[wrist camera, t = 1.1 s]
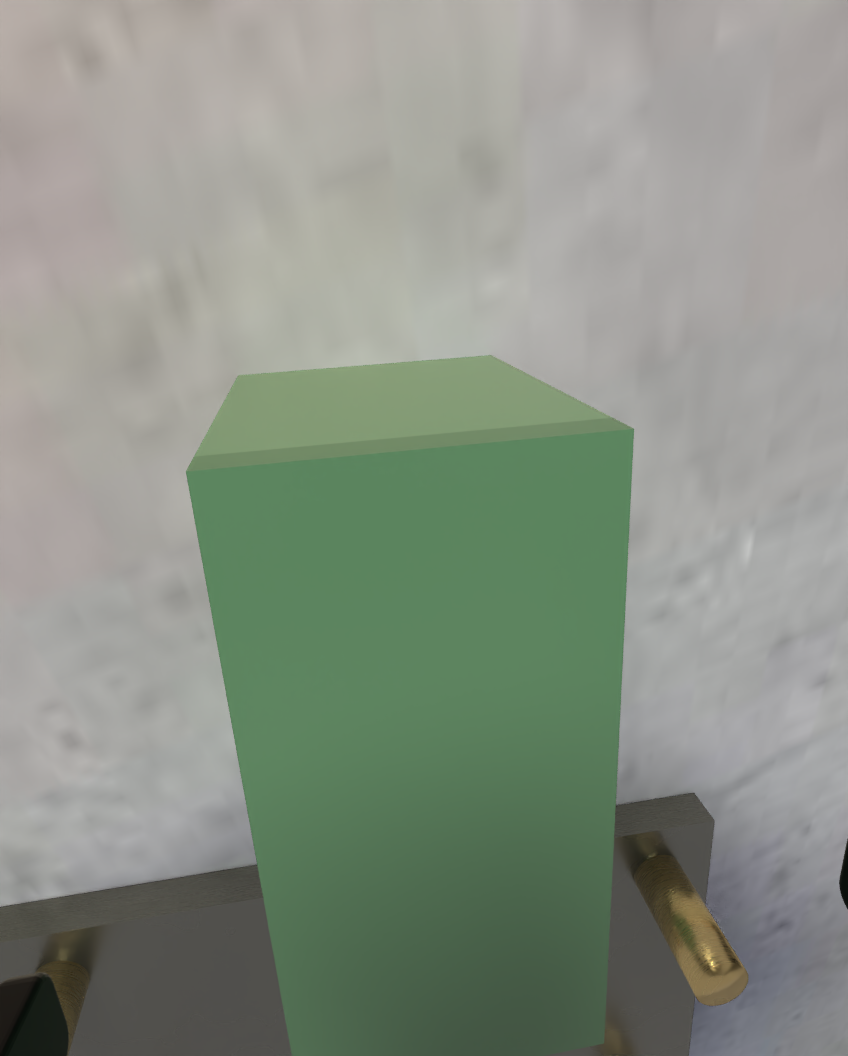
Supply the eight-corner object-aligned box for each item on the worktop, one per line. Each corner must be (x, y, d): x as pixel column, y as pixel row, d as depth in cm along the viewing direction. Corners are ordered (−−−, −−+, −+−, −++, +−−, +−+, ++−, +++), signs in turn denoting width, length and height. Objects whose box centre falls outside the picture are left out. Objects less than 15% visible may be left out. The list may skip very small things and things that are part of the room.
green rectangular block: (489, 354, 14) (633, 429, 8) (499, 771, 18) (604, 1043, 12) (238, 375, 13) (186, 472, 7) (301, 802, 17) (301, 1106, 11)
